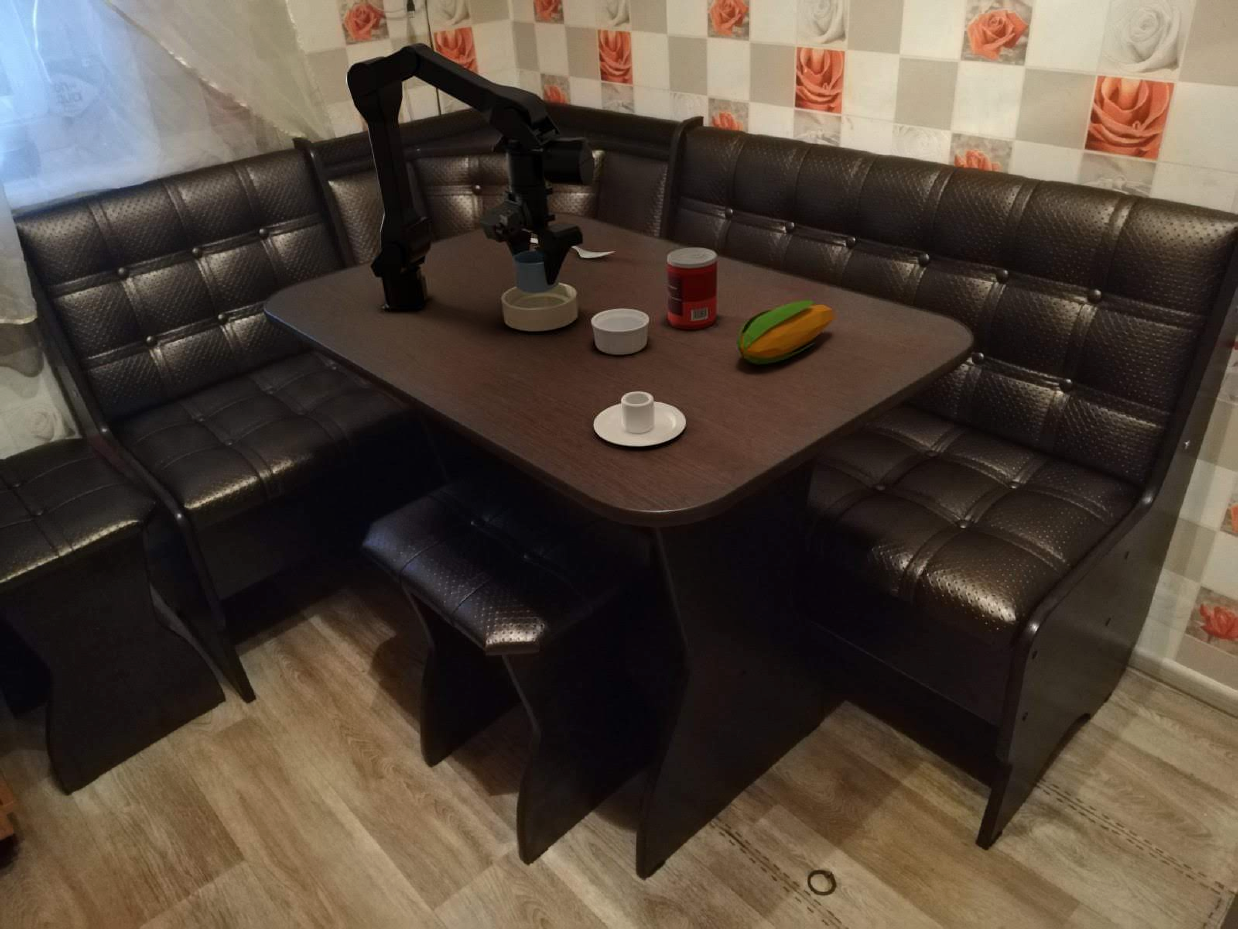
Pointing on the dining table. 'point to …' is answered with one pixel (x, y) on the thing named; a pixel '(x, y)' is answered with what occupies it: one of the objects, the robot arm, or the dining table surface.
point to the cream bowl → (540, 308)
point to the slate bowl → (531, 272)
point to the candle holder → (639, 421)
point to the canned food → (692, 288)
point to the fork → (582, 251)
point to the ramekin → (620, 331)
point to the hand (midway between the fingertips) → (537, 279)
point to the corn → (782, 331)
